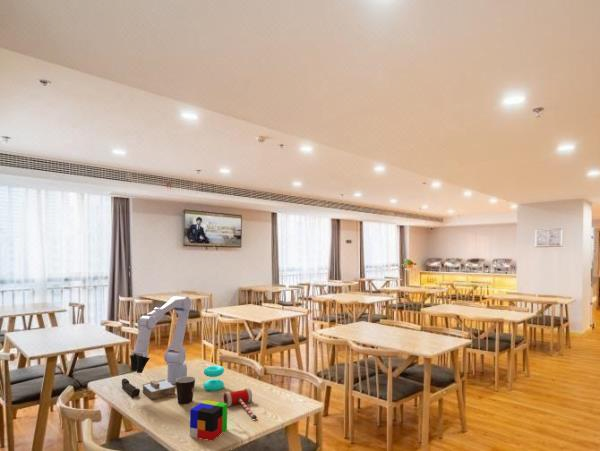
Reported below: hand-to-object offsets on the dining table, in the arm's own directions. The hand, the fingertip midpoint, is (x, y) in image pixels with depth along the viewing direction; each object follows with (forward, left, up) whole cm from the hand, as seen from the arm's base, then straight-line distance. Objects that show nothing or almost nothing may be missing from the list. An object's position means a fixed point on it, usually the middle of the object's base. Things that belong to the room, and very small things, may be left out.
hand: (136, 371), depth 187 cm
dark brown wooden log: (0, -12, -13) cm, 18 cm away
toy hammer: (-33, +40, -13) cm, 54 cm away
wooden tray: (-11, 0, -13) cm, 17 cm away
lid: (-11, 0, -9) cm, 15 cm away
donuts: (-35, +10, -13) cm, 38 cm away
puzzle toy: (-10, +52, -13) cm, 54 cm away
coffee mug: (-15, +18, -13) cm, 26 cm away
